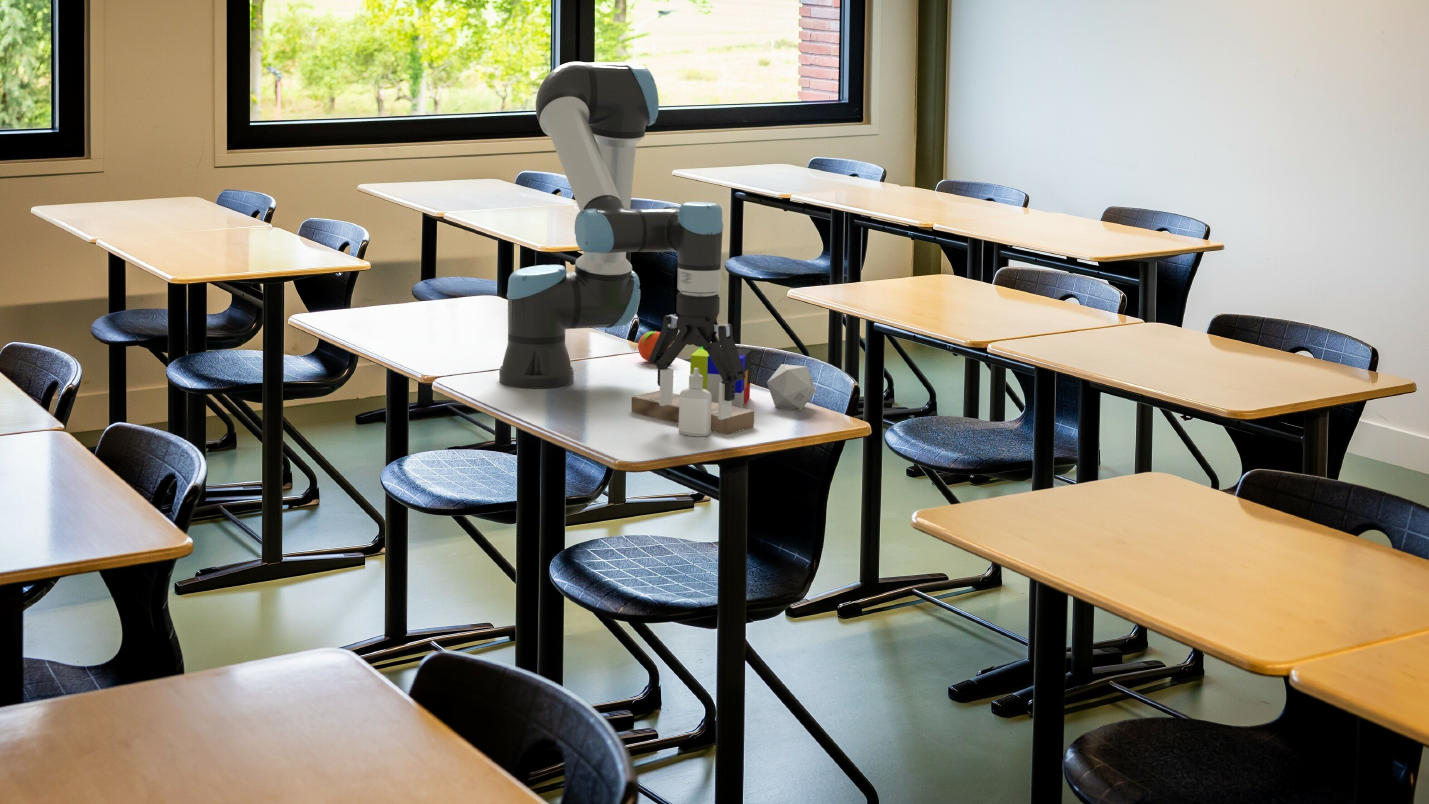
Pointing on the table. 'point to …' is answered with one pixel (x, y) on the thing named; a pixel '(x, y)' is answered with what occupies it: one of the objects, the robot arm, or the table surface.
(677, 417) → the walnut block
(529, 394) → the table surface
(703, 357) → the puzzle toy
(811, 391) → the die
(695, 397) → the eye dropper bottle
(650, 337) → the clementine
